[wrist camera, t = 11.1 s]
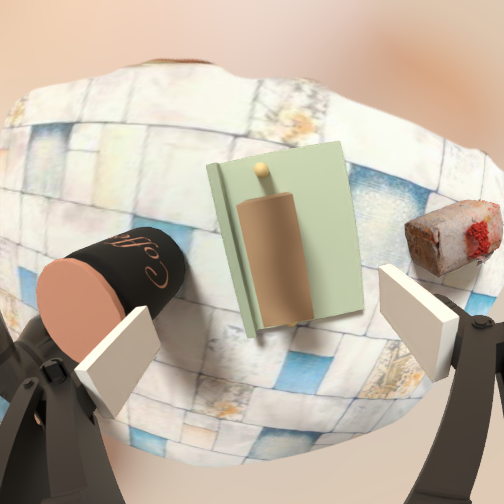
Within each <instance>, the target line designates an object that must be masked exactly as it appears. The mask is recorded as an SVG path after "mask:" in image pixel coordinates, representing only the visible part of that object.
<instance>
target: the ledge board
mask: <svg viewBox="0 0 504 504" xmlns="http://www.w3.org/2000/svg"><path fill="white" fill-rule="evenodd" d="M206 169H207V173H208V178H209V182H210V187H211V191H212V196H213V200H214V204H215V209H216V213H217V218H218V222H219V226H220V230H221V235H222V239H223V243H224V247H225V251H226V256H227V260H228V264H229V268H230V272H231V276H232V280H233V284H234V288H235V292H236V296H237V300H238V304H239V308H240V312H241V316H242V320H243V323H244V327H245V331H246V335H247V338H254V337H257V330H258V329H264V326H263V322H262V317H261V313H260V309H259V304H258V300H257V296H256V291H255V287H254V283H253V278H252V274H251V270H250V265H249V261H248V256H247V252H246V248H245V243H244V239H243V234H242V230H241V226H240V221H239V217H238V212H237V208H236V205H238V204H240V203H242V202H244V201H245V200H249V199H254V198H258V197H263V196H268V195H273V194H278V193H283V192H289V193H292V194H293V198H294V203H295V208H296V213H297V218H298V224H299V229H300V234H301V240H302V245H303V251H304V256H305V262H306V268H307V274H308V280H309V287H310V293H311V299H312V306H313V313H314V319H311V320H315V319H320V318H325V317H330V316H335V315H340V314H344V313H349V312H353V311H358V310H362V309H364V298H363V285H362V274H361V263H360V254H359V245H358V238H357V230H356V223H355V216H354V210H353V204H352V198H351V192H350V186H349V181H348V176H347V171H346V166H345V161H344V156H343V152H342V147H341V143H340V141H335V142H328V143H322V144H315V145H309V146H303V147H297V148H291V149H286V150H280V151H275V152H270V153H265V154H260V155H256V156H251V157H246V158H242V159H238V160H233V161H229V162H225V163H221V164H218V163H212V164H209V165H206ZM306 321H310V320H306ZM300 322H305V321H300ZM300 322H295V323H289V324H284V325H287V326H288V327H294V326H296V325H297V323H300ZM278 326H283V325H278ZM272 327H277V326H272ZM266 328H271V327H266Z"/></svg>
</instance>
